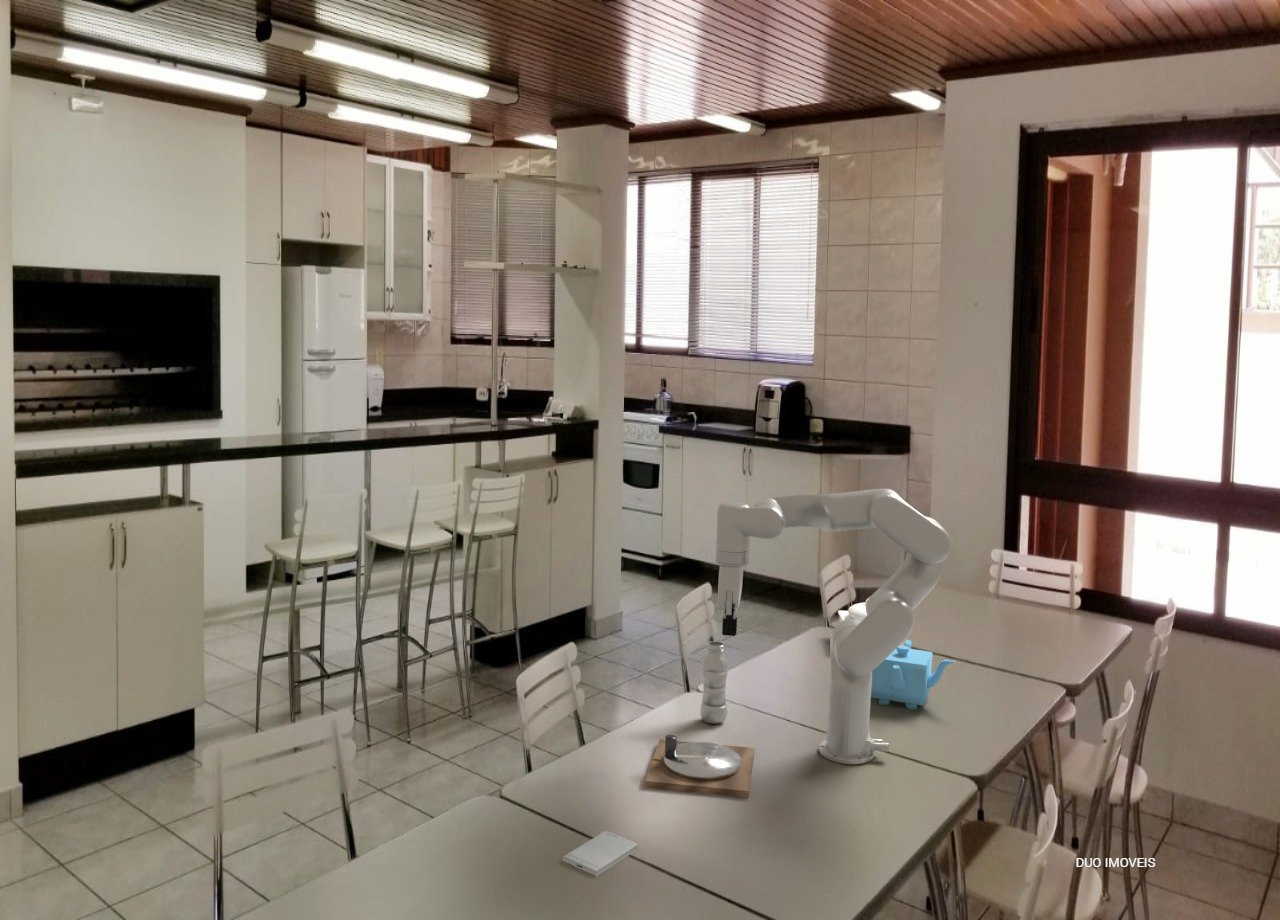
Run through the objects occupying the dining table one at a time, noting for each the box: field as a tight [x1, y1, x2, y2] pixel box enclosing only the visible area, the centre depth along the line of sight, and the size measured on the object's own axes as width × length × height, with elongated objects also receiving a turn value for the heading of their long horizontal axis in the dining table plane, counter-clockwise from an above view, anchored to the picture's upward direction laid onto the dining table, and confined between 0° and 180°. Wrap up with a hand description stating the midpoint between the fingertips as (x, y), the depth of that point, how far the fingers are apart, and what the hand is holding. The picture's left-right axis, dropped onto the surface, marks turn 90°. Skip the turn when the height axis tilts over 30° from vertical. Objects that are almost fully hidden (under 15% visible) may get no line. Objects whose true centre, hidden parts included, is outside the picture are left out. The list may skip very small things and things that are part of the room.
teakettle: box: [871, 639, 957, 711], centre depth 275 cm, size 19×19×15 cm
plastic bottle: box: [699, 641, 729, 725], centre depth 257 cm, size 6×7×20 cm
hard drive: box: [562, 830, 639, 877], centre depth 195 cm, size 2×8×12 cm
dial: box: [664, 734, 741, 780], centre depth 231 cm, size 17×17×6 cm
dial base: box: [644, 739, 755, 799], centre depth 231 cm, size 22×22×2 cm
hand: (729, 634), depth 241 cm, fingers closed
